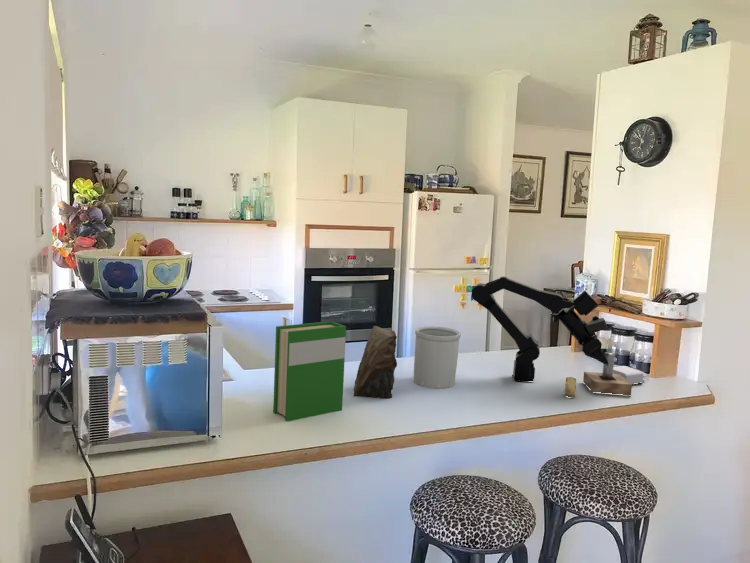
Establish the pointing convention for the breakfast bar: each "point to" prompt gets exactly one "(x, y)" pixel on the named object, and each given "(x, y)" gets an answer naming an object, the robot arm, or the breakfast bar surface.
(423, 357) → the utensil holder
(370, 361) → the brown rock
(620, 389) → the walnut hole block
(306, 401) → the hardback book
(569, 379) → the short brass pin
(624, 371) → the charger
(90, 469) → the breakfast bar surface
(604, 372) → the long steel pin
